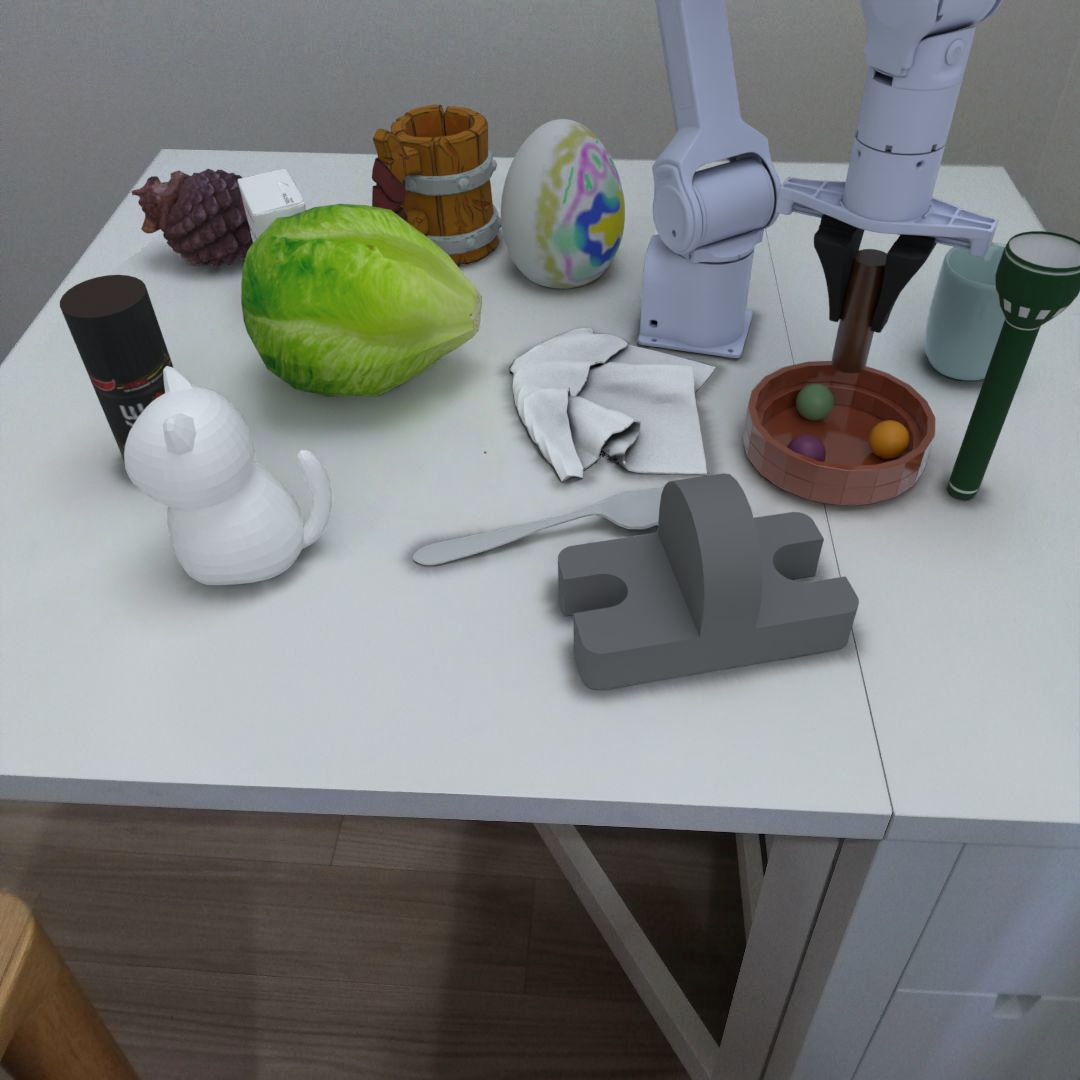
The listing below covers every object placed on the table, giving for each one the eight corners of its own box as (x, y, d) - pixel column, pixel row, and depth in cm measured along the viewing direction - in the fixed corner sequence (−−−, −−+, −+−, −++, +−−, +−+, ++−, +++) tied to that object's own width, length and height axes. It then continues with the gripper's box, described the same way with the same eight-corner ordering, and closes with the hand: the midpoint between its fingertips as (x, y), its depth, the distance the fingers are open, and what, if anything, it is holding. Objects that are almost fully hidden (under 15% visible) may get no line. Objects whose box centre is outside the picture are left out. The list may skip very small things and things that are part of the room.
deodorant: (135, 491, 77) (66, 326, 67) (121, 450, 81) (53, 287, 70) (209, 467, 79) (153, 303, 68) (192, 428, 83) (137, 267, 72)
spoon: (692, 526, 73) (694, 510, 71) (417, 579, 69) (415, 563, 68) (673, 490, 75) (675, 474, 74) (409, 540, 72) (406, 524, 71)
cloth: (571, 318, 94) (570, 295, 92) (780, 391, 84) (784, 368, 83) (434, 427, 82) (431, 403, 80) (660, 526, 73) (662, 502, 71)
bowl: (730, 492, 75) (736, 452, 72) (756, 389, 85) (762, 350, 82) (920, 525, 72) (933, 484, 69) (924, 414, 81) (937, 374, 79)
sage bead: (791, 424, 80) (796, 394, 78) (795, 403, 82) (801, 374, 80) (828, 430, 79) (835, 400, 77) (831, 409, 81) (838, 379, 79)
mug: (521, 233, 106) (515, 90, 96) (430, 301, 97) (412, 150, 86) (442, 211, 111) (427, 72, 100) (347, 274, 101) (320, 127, 91)
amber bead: (863, 463, 76) (871, 432, 74) (866, 440, 78) (874, 409, 76) (903, 469, 76) (913, 439, 74) (905, 446, 78) (914, 416, 76)
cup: (1013, 397, 83) (1053, 291, 76) (917, 388, 84) (948, 284, 77) (1001, 346, 88) (1037, 244, 81) (911, 339, 90) (940, 237, 83)
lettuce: (469, 450, 83) (471, 306, 72) (232, 430, 83) (196, 282, 71) (485, 326, 94) (490, 182, 82) (275, 307, 93) (250, 160, 82)
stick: (826, 368, 75) (848, 261, 69) (837, 351, 77) (860, 245, 71) (859, 377, 74) (885, 269, 68) (869, 360, 76) (895, 253, 70)
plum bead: (780, 477, 75) (786, 447, 73) (785, 454, 77) (791, 423, 75) (820, 484, 75) (827, 454, 73) (824, 460, 77) (830, 430, 75)
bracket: (854, 646, 64) (890, 526, 56) (585, 692, 62) (586, 574, 54) (799, 546, 71) (825, 427, 63) (555, 584, 69) (552, 466, 61)
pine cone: (304, 217, 110) (314, 160, 101) (305, 294, 108) (316, 242, 99) (135, 196, 105) (130, 133, 96) (132, 278, 102) (126, 220, 93)
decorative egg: (571, 313, 94) (570, 160, 84) (479, 274, 100) (468, 126, 90) (646, 264, 101) (654, 116, 90) (555, 230, 107) (553, 87, 96)
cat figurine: (170, 532, 74) (103, 364, 63) (336, 499, 76) (297, 332, 65) (170, 618, 67) (95, 448, 57) (351, 580, 69) (311, 409, 59)
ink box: (262, 288, 99) (234, 175, 91) (310, 278, 101) (286, 165, 92) (279, 329, 94) (251, 212, 85) (330, 318, 95) (307, 201, 87)
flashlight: (1007, 488, 75) (1105, 245, 61) (980, 523, 72) (1077, 278, 58) (943, 461, 77) (1023, 222, 63) (915, 495, 74) (992, 253, 60)
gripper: (1030, 135, 63) (971, 319, 73) (813, 98, 69) (784, 274, 78) (1006, 177, 59) (947, 366, 68) (776, 134, 64) (751, 315, 74)
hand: (858, 320), depth 73 cm, fingers closed on stick, 2 cm apart
